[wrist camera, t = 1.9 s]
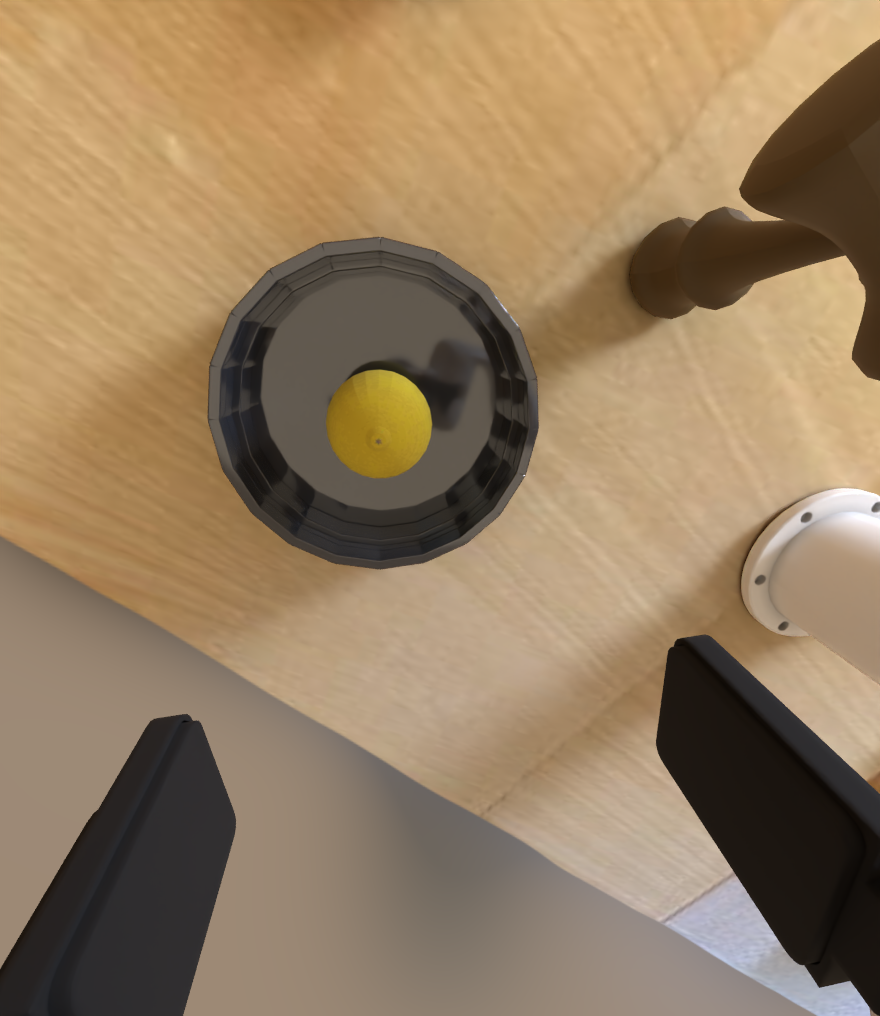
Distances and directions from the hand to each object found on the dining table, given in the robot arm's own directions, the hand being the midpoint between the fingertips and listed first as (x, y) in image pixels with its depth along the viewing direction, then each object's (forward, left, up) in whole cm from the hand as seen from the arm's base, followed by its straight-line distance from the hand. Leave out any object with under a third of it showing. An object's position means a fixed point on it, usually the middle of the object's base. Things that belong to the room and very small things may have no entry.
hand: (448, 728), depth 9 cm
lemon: (+1, -3, -22) cm, 22 cm away
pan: (+1, -3, -22) cm, 22 cm away
